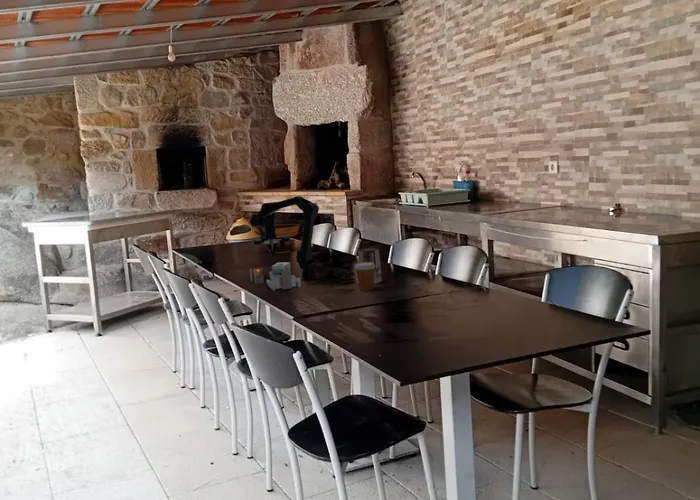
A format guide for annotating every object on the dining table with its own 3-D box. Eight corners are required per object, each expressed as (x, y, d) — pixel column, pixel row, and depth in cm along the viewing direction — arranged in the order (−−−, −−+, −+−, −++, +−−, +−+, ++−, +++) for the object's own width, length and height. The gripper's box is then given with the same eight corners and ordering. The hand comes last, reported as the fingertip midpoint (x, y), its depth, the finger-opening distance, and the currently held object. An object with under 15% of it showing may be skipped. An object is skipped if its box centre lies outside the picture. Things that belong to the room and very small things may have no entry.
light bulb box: (286, 287, 321) (284, 265, 319) (273, 287, 322) (271, 265, 321) (292, 282, 331) (290, 261, 330) (279, 283, 332) (277, 262, 331)
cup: (260, 257, 427) (257, 230, 424) (253, 252, 451) (251, 227, 448) (313, 251, 438) (311, 225, 435) (303, 247, 462) (302, 222, 459)
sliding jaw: (300, 284, 323) (298, 266, 321) (302, 287, 316) (301, 268, 315) (269, 288, 319) (268, 270, 318) (272, 290, 312) (270, 272, 311)
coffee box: (382, 281, 319) (380, 248, 317) (377, 283, 314) (375, 250, 311) (365, 280, 323) (363, 248, 321) (359, 283, 318) (357, 250, 315)
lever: (260, 273, 345) (259, 267, 344) (263, 276, 335) (262, 269, 334) (252, 274, 344) (252, 267, 343) (255, 277, 334) (254, 270, 333)
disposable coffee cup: (366, 286, 309) (364, 261, 307) (381, 288, 302) (379, 262, 300) (352, 290, 302) (350, 264, 301) (366, 292, 296) (365, 266, 294)
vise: (288, 276, 349) (287, 264, 348) (301, 287, 317) (300, 274, 316) (250, 280, 344) (249, 268, 343) (260, 292, 312) (258, 279, 311)
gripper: (284, 223, 352) (287, 252, 354) (249, 227, 347) (252, 256, 349) (288, 225, 341) (290, 255, 344) (252, 228, 337) (255, 258, 339)
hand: (272, 256), depth 344 cm, fingers closed
